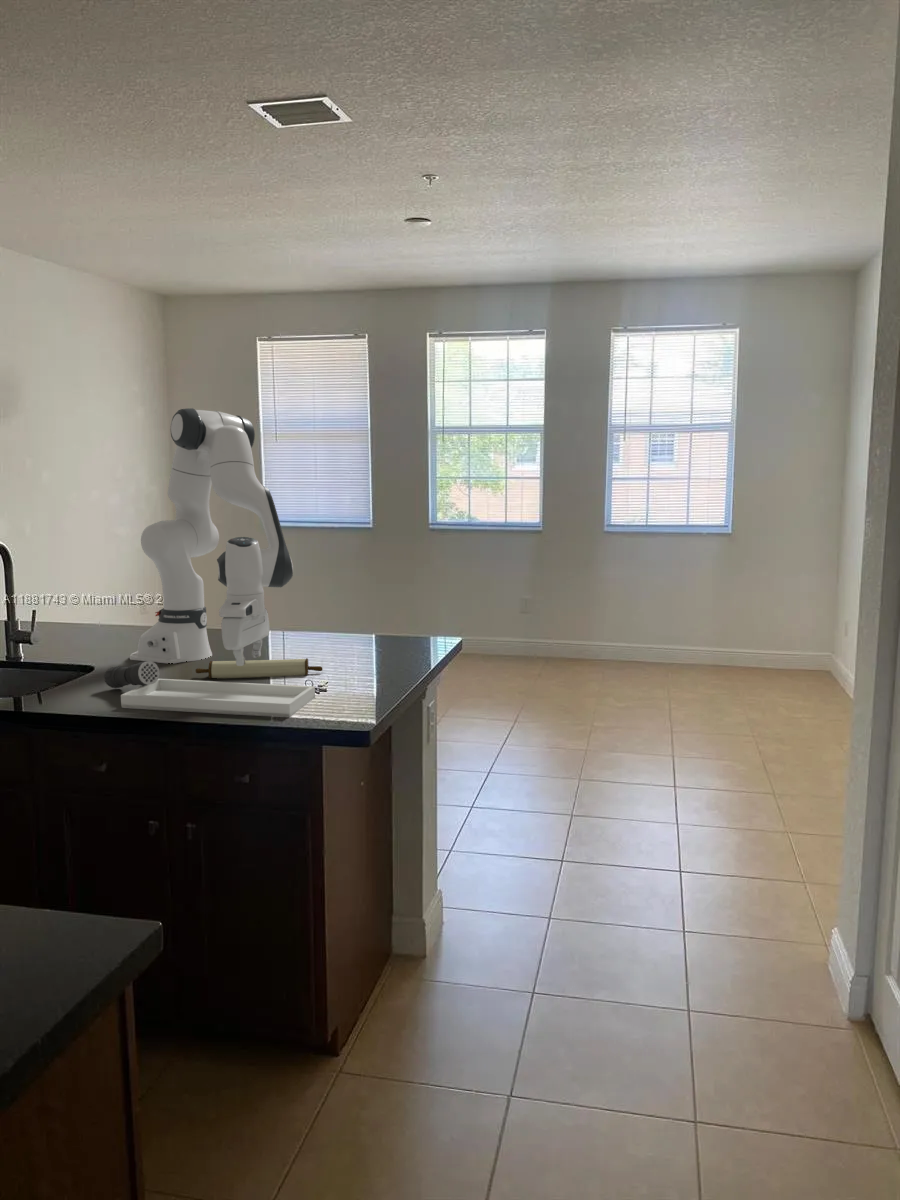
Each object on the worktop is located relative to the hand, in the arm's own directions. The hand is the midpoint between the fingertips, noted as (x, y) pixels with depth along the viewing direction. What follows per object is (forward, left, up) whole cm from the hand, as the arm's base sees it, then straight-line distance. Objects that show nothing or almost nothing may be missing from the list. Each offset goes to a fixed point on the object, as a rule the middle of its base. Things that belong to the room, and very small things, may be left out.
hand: (248, 661), depth 213 cm
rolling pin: (-2, +11, -7) cm, 14 cm away
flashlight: (-29, -6, -8) cm, 31 cm away
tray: (-1, -14, -7) cm, 16 cm away
